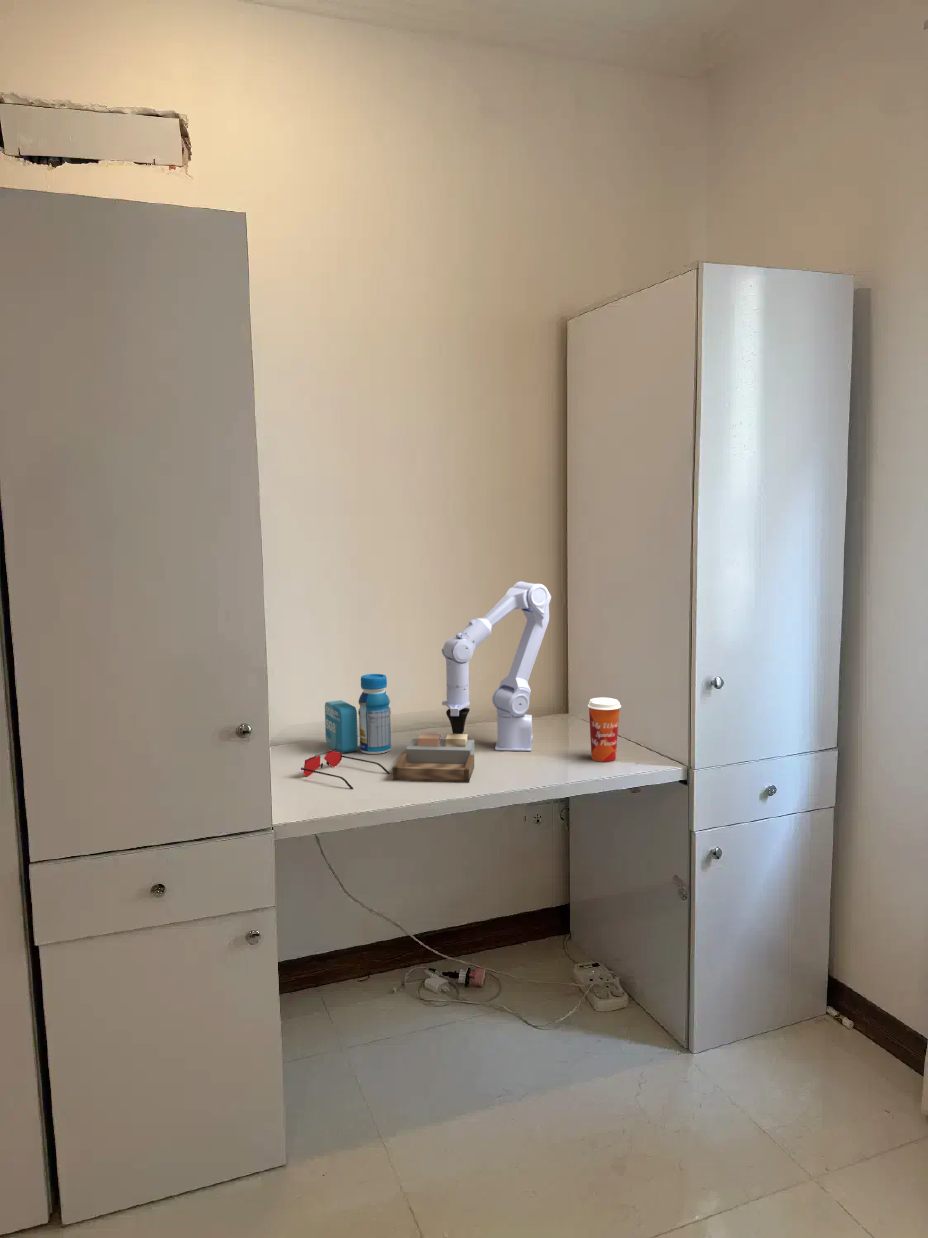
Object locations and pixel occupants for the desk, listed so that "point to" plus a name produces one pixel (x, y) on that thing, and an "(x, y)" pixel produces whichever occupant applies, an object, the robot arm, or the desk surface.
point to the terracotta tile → (429, 739)
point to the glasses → (332, 759)
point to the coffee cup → (603, 728)
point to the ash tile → (456, 740)
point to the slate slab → (439, 753)
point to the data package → (341, 726)
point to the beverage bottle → (374, 715)
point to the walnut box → (432, 771)
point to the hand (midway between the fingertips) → (458, 737)
